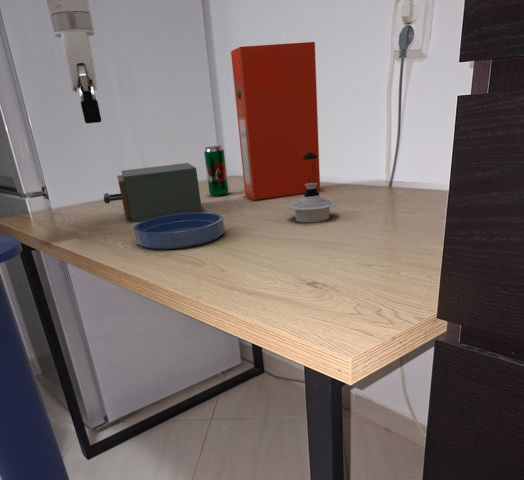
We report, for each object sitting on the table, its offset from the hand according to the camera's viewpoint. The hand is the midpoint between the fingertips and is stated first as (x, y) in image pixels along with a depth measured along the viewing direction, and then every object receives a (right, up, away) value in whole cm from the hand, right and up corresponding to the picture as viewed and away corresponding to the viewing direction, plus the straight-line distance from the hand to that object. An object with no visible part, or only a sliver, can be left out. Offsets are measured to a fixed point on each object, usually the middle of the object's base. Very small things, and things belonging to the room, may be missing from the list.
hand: (93, 122), depth 105 cm
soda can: (+24, -7, +27) cm, 37 cm away
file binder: (+41, -9, +21) cm, 46 cm away
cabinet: (+13, -16, +12) cm, 23 cm away
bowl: (+21, -27, -13) cm, 36 cm away
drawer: (+9, -16, +10) cm, 21 cm away
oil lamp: (+45, -22, -7) cm, 51 cm away
